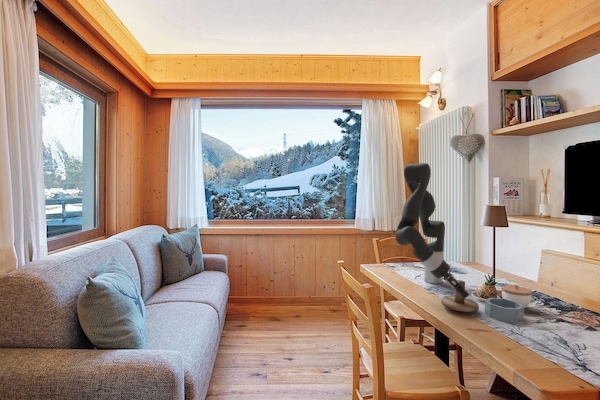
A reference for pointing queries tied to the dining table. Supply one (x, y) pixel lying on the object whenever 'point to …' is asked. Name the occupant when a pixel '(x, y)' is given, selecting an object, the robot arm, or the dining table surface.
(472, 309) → the walnut lid
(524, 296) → the lidded jar
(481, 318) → the dining table surface
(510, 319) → the ceramic bowl
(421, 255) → the robot arm
